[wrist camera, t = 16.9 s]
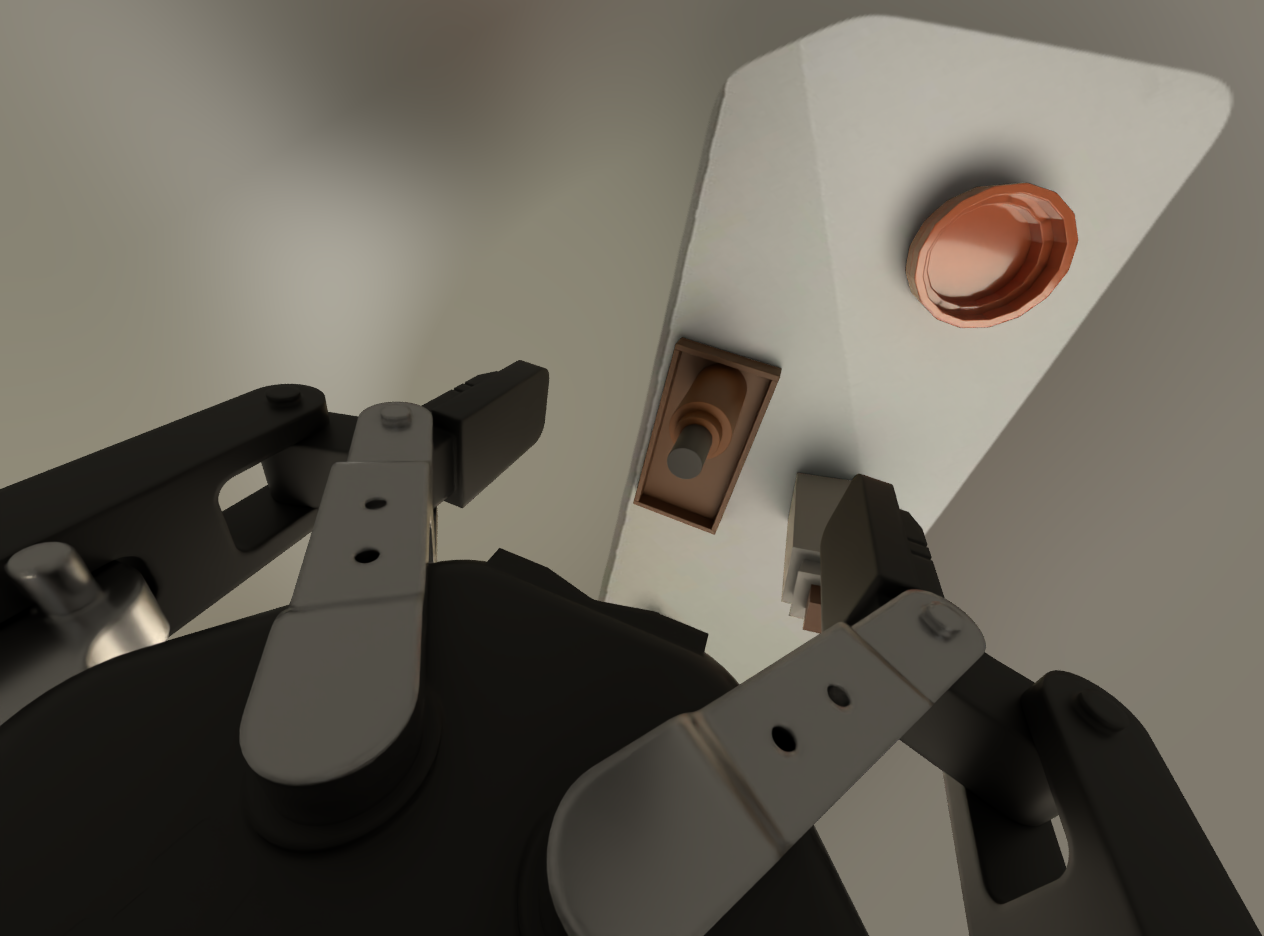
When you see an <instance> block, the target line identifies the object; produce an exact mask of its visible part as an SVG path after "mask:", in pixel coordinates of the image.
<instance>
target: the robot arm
mask: <svg viewBox="0 0 1264 936" xmlns="http://www.w3.org/2000/svg"><path fill="white" fill-rule="evenodd" d="M548 386H549V372H548V370H547V369H546V368H543V367H540V366H536V365H534V364H531V363H528V362H525V361H522V360H518V361H516V362H515V363H513V364H511V365H509V366H508V367H506V368H504V369H502V370H500V371H499V372H498V371H495V372H490V373H486V374H481V375H477V376H476V377H474V378H472V379H470V380H468V381H466V382H465V384H461V385H459V386H457V387H456V388H454V390H450V391H448V392H446V393H444V394H442V395H441V396H439V397H437V398H435V399H433V400H431V401H429V402H428V403H426V404H424V405H422V406H420V405H417V404H413V403H408V402H386V403H380V404H376V405H373V406H371V407H368V408H367V409H365V410H363V411H362V412H361V413H360V415H359V417H357V416H351V415H345V414H338V413H332V412H328V410H327V405H326V400H325V395H324V394H323V392H321V391H320V390H318V389H316V388H314V387H311V386H306V385H300V384H279V385H271V386H266V387H262V388H259V389H256V390H253V391H251V392H248V393H246V394H243V395H240V396H238V397H236V398H233V399H230V400H228V401H225V402H223V403H220V404H218V405H215V406H213V407H210V408H207V409H205V410H202V411H200V412H197V413H194V414H192V415H189V416H187V417H184V418H182V419H179V420H176V421H174V422H171V423H169V424H167V425H164V426H161V427H159V428H156V429H153V430H151V431H148V432H146V433H143V434H141V435H138V436H135V437H133V438H130V439H128V440H125V441H123V442H120V443H117V444H115V445H112V446H110V447H107V448H105V449H102V450H100V451H97V452H94V453H92V454H89V455H87V456H84V457H82V458H79V459H77V460H74V461H71V462H69V463H66V464H64V465H61V466H59V467H56V468H53V469H51V470H48V471H46V472H43V473H41V474H38V475H35V476H33V477H30V478H28V479H25V480H23V481H20V482H18V483H15V484H12V485H10V486H7V487H5V488H2V489H0V936H869V935H868V933H867V931H866V929H865V927H864V925H863V923H862V921H861V919H860V917H859V915H858V913H857V911H856V909H855V907H854V905H853V903H852V901H851V899H850V897H849V895H848V893H847V891H846V889H845V887H844V885H843V883H842V881H841V879H840V877H839V875H838V873H837V870H836V868H835V866H834V864H833V863H832V861H831V858H830V856H829V854H828V852H827V850H826V848H825V846H824V844H823V843H822V840H821V838H820V836H819V834H818V832H817V830H816V828H815V826H814V824H815V823H816V822H817V821H818V819H820V818H821V816H823V815H824V814H825V813H826V812H827V811H828V809H830V807H832V806H833V805H834V804H835V802H837V801H838V799H840V798H841V797H842V796H843V795H844V794H845V793H846V792H847V791H848V790H849V789H850V788H851V787H852V786H853V785H854V784H855V782H857V781H858V780H859V779H860V778H861V777H862V776H863V775H864V773H866V772H867V770H869V769H870V768H871V767H872V766H873V764H875V763H876V762H877V761H878V760H879V759H880V758H881V757H882V756H883V754H885V753H886V751H888V750H889V749H890V748H891V747H892V746H893V745H894V744H895V743H896V741H897V740H901V741H902V742H903V743H905V744H906V745H908V746H909V747H910V748H912V749H913V750H915V751H916V752H917V753H919V754H920V755H921V756H923V757H924V758H926V759H927V760H928V761H930V762H931V763H932V764H934V765H935V766H937V767H938V768H939V769H941V770H942V771H943V777H944V783H945V789H946V795H947V802H948V807H949V814H950V820H951V826H952V832H953V838H954V845H955V851H956V857H957V863H958V869H959V875H960V881H961V888H962V894H963V900H964V906H965V912H966V918H967V924H968V930H969V936H1262V935H1261V933H1260V931H1259V929H1258V928H1257V926H1256V924H1255V922H1254V921H1253V919H1252V917H1251V915H1250V913H1249V911H1248V910H1247V908H1246V906H1245V904H1244V903H1243V901H1242V899H1241V897H1240V895H1239V894H1238V892H1237V890H1236V889H1235V887H1234V885H1233V883H1232V881H1231V880H1230V878H1229V876H1228V874H1227V872H1226V871H1225V869H1224V867H1223V865H1222V863H1221V862H1220V860H1219V858H1218V856H1217V855H1216V853H1215V851H1214V849H1213V847H1212V846H1211V844H1210V842H1209V840H1208V839H1207V837H1206V835H1205V833H1204V832H1203V830H1202V828H1201V826H1200V824H1199V823H1198V821H1197V819H1196V817H1195V816H1194V814H1193V812H1192V810H1191V808H1190V807H1189V805H1188V803H1187V801H1186V799H1185V798H1184V796H1183V794H1182V792H1181V791H1180V789H1179V787H1178V785H1177V783H1176V782H1175V780H1174V778H1173V776H1172V775H1171V773H1170V771H1169V769H1168V768H1167V766H1166V764H1165V762H1164V760H1163V758H1162V757H1161V755H1160V753H1159V752H1158V750H1157V748H1156V746H1155V744H1154V742H1153V741H1152V739H1151V737H1150V736H1149V734H1148V732H1147V731H1146V729H1145V728H1144V727H1143V725H1142V724H1141V723H1140V721H1139V720H1138V719H1137V718H1136V717H1135V716H1134V715H1133V714H1132V713H1131V712H1130V711H1129V710H1128V709H1127V708H1126V707H1125V706H1124V705H1123V704H1122V703H1121V702H1119V701H1118V700H1117V699H1116V698H1115V697H1113V696H1112V695H1111V694H1109V693H1108V692H1106V691H1105V690H1104V689H1102V688H1100V687H1099V686H1097V685H1095V684H1094V683H1092V682H1090V681H1089V680H1086V679H1085V678H1083V677H1080V676H1078V675H1075V674H1072V673H1070V672H1065V671H1057V670H1055V671H1050V672H1048V673H1046V674H1045V675H1044V676H1043V677H1042V678H1040V679H1039V680H1038V681H1037V682H1036V683H1034V682H1033V681H1031V680H1029V679H1028V678H1026V677H1024V676H1023V675H1021V674H1019V673H1018V672H1016V671H1014V670H1013V669H1011V668H1009V667H1007V666H1006V665H1004V664H1002V663H1001V662H999V661H997V660H996V659H994V658H993V657H991V656H989V655H988V654H987V653H985V649H986V643H985V639H984V636H983V634H982V632H981V631H980V629H979V628H978V626H977V625H976V624H975V622H974V621H973V620H972V619H971V618H970V617H969V616H968V615H967V614H966V613H965V612H964V611H962V610H961V609H960V608H959V607H957V606H956V605H954V604H953V603H952V602H950V601H948V600H946V599H945V598H944V595H943V592H942V589H941V586H940V582H939V579H938V576H937V573H936V570H935V567H934V564H933V561H931V554H930V551H929V548H927V542H926V539H925V536H924V533H923V529H922V528H921V527H920V525H919V524H918V523H917V522H916V521H915V519H914V518H913V517H912V516H911V515H910V513H909V512H907V511H904V510H901V509H899V505H898V502H897V498H896V494H895V491H894V487H893V485H892V484H889V483H886V482H883V481H880V480H877V479H874V478H871V477H868V476H865V475H862V474H857V475H856V476H855V477H854V478H853V480H852V481H851V483H850V484H849V486H848V488H847V490H846V491H845V493H844V495H843V497H842V498H841V500H840V502H839V504H838V505H837V507H836V509H835V511H834V512H833V514H832V516H831V518H830V519H829V521H828V523H827V525H826V527H825V530H824V532H823V535H822V539H821V543H820V575H821V633H820V634H819V635H817V636H816V637H814V638H813V639H811V640H809V641H808V642H806V643H805V644H803V645H801V646H800V647H798V648H797V649H795V650H794V651H792V652H790V653H789V654H787V655H786V656H784V657H783V658H781V659H779V660H778V661H776V662H775V663H773V664H772V665H770V666H768V667H767V668H765V669H764V670H762V671H760V672H759V673H757V674H756V675H754V676H753V677H751V678H749V679H748V680H746V681H745V682H743V683H742V684H740V685H739V683H738V682H737V681H736V680H735V678H734V677H733V676H732V675H731V674H730V673H729V672H728V671H727V670H726V669H725V668H724V667H723V666H721V665H720V664H719V663H718V662H717V661H716V660H714V659H713V658H712V657H711V656H709V655H708V654H706V653H705V652H704V651H705V647H706V642H707V638H708V633H705V632H703V631H700V630H698V629H695V628H693V627H691V626H688V625H686V624H683V623H681V622H678V621H676V620H674V619H671V618H669V617H666V616H664V615H661V614H659V613H657V612H654V611H649V610H644V609H638V608H633V607H628V606H622V605H617V604H612V603H606V602H601V601H597V600H594V599H592V598H590V597H588V596H587V595H586V594H584V593H583V592H581V591H580V590H579V589H577V588H576V587H574V586H573V585H572V584H570V583H568V582H567V581H566V580H564V579H563V578H562V577H560V576H559V575H557V574H556V573H555V572H553V571H552V570H550V569H549V568H547V567H545V566H542V565H540V564H538V563H535V562H533V561H530V560H528V559H525V558H523V557H521V556H518V555H515V554H513V553H511V552H508V551H506V550H504V549H501V548H499V549H498V550H497V551H496V552H495V553H494V555H493V556H492V557H491V558H490V559H489V560H488V561H487V562H485V561H477V560H450V561H440V562H437V527H438V524H437V523H438V522H437V520H438V515H437V506H438V505H439V504H440V503H441V502H443V501H446V502H448V503H450V504H453V505H456V506H458V507H460V508H463V507H465V506H466V505H467V504H468V503H469V502H470V501H471V500H472V499H474V498H475V497H476V496H477V495H478V494H479V493H480V492H481V491H482V490H484V489H485V488H486V487H487V486H488V485H489V484H490V483H491V482H493V481H494V480H495V479H496V478H497V477H498V476H499V475H500V474H501V473H503V472H504V471H505V470H506V469H507V468H508V467H509V466H510V465H512V464H513V463H514V462H515V461H516V460H517V459H518V458H519V457H520V456H522V455H523V454H524V453H525V452H526V451H527V450H528V449H529V448H530V447H532V446H533V445H534V444H535V443H536V442H537V440H538V439H539V437H540V435H541V433H542V431H543V428H544V423H545V414H546V405H547V395H548ZM260 462H261V463H262V466H263V469H264V473H265V476H266V480H267V483H268V485H267V486H265V487H263V488H262V489H260V490H258V491H256V492H255V493H253V494H251V495H250V496H248V497H246V498H244V499H243V500H241V501H239V502H238V503H236V504H235V505H233V506H231V507H229V508H228V509H226V510H224V511H221V508H220V506H219V503H218V496H219V493H220V490H221V488H222V487H223V485H224V484H225V483H226V482H227V481H228V480H229V479H231V478H232V477H234V476H236V475H238V474H240V473H242V472H243V471H245V470H247V469H249V468H251V467H253V466H255V465H257V464H258V463H260ZM310 532H312V533H311V537H310V540H309V544H308V547H307V550H306V553H305V556H304V560H303V563H302V566H301V570H300V573H299V576H298V579H297V583H296V586H295V589H294V593H293V596H292V599H291V602H290V604H289V605H286V606H283V607H279V608H276V609H273V610H269V611H266V612H263V613H259V614H256V615H253V616H249V617H246V618H242V619H239V620H236V621H232V622H229V623H226V624H222V625H219V626H215V627H212V628H208V629H205V630H202V631H199V632H195V633H191V634H188V635H185V636H182V637H178V638H175V639H172V640H168V641H166V640H167V638H168V637H170V636H171V635H172V634H173V633H175V632H176V631H178V630H179V629H180V628H182V627H183V626H184V625H186V624H187V623H188V622H190V621H191V620H192V619H194V618H195V617H196V616H198V615H199V614H201V613H202V612H203V611H205V610H206V609H207V608H209V607H210V606H211V605H213V604H214V603H216V602H217V601H218V600H219V599H221V598H222V597H223V596H225V595H226V594H228V593H229V592H230V591H232V590H233V589H234V588H236V587H237V586H239V584H241V583H243V582H244V581H245V580H247V579H248V578H249V577H251V576H252V575H253V574H255V573H256V572H257V571H259V570H260V569H261V568H263V567H264V566H265V565H267V564H268V563H270V562H271V561H272V560H274V559H275V558H276V557H278V556H279V555H280V554H282V553H283V552H285V551H286V550H287V549H288V548H290V547H291V546H293V545H294V544H295V543H297V542H298V541H299V540H301V539H302V538H303V537H305V536H306V535H307V534H309V533H310ZM1058 815H1059V817H1060V819H1061V823H1062V826H1063V829H1064V831H1065V834H1066V838H1067V841H1068V846H1069V860H1068V865H1067V868H1066V866H1065V863H1064V859H1063V856H1062V853H1061V851H1060V847H1059V844H1058V841H1057V838H1056V835H1055V832H1054V829H1053V826H1052V823H1051V819H1052V818H1054V817H1056V816H1058Z"/></svg>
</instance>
